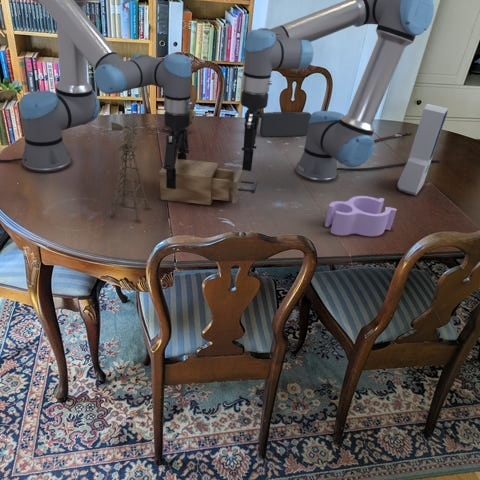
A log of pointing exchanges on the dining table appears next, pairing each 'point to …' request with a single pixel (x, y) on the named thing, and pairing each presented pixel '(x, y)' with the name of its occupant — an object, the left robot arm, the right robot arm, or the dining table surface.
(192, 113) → the lion figurine
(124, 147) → the miniature windmill
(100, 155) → the dining table surface
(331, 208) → the clip
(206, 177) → the cabinet
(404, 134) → the sword
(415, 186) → the electronic device
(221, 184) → the drawer
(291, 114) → the handheld gaming console
